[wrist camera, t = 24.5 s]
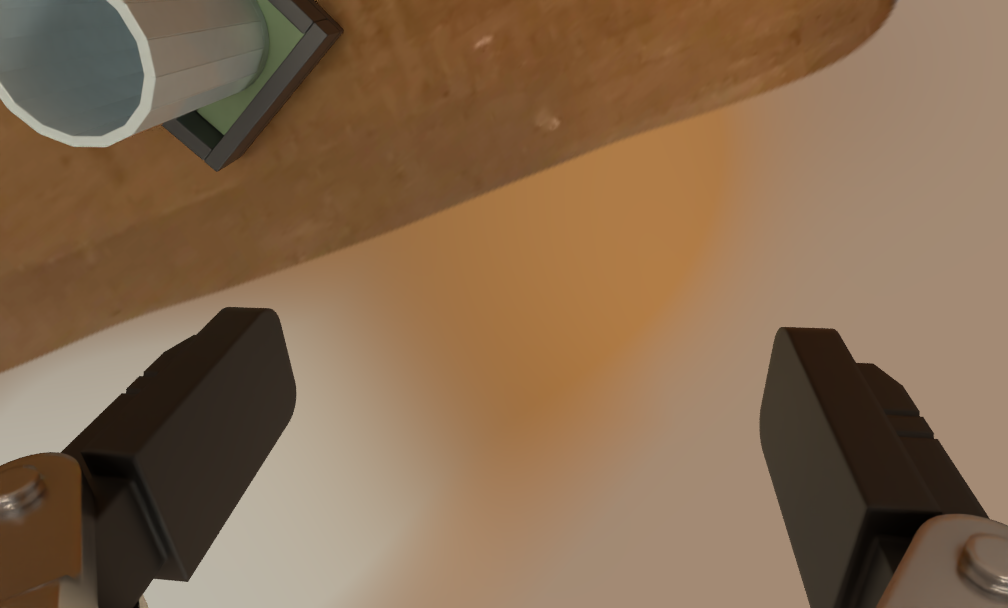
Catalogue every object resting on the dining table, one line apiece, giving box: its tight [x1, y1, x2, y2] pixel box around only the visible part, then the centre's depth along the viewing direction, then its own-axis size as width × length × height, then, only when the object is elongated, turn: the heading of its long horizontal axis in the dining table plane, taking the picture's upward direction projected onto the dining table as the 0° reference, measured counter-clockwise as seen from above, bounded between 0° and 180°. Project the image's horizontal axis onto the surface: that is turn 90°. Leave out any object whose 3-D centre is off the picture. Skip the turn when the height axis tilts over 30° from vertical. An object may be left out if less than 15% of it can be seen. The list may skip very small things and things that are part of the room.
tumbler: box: [0, 0, 269, 147], centre depth 27 cm, size 6×6×11 cm
